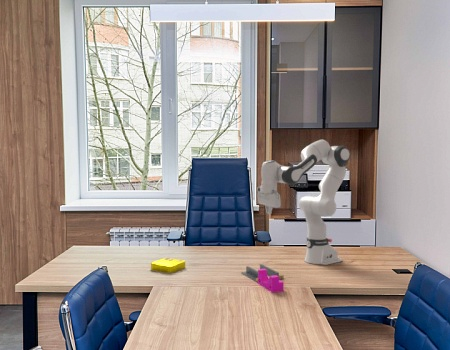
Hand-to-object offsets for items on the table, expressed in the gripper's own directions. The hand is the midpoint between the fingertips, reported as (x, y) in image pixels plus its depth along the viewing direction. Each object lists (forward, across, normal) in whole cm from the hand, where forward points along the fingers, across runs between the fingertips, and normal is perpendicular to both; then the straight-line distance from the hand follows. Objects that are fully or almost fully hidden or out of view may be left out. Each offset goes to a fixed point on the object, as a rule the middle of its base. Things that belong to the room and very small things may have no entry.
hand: (268, 213), depth 264 cm
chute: (+31, -12, +11) cm, 35 cm away
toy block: (+32, -30, +16) cm, 47 cm away
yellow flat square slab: (+32, +23, +52) cm, 65 cm away
